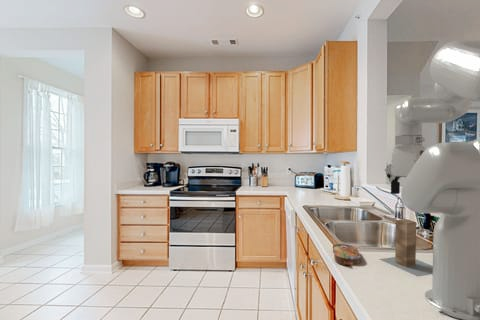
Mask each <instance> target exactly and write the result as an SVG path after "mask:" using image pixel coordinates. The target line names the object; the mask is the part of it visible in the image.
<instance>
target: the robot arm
mask: <svg viewBox="0 0 480 320" xmlns="http://www.w3.org/2000/svg"><path fill="white" fill-rule="evenodd" d="M429 74H430V77H431V80H433V82H435V83H434V88H433V89H434V92H435V95H436V96H435V97H426V96H425V97H409V98H406V99H404V101H403V102H402V103H401V104H398V105H397V106H396V107H395V110H394V147H393V150H392V154H391V164H390V165H389V166H387V167H386V168H384V171H385V174H386V177H387V178H388V181H389V183H390V194H392V195H400V194H401V201H402V203H403V204H404V206H405V207H406V209H408V210H410V211H412V212H414V213H419V214H434V215H435V214H436V215H437V214H438V215H439V214H441V215H440V216H439V218H438V220H436V223H435V225H434V228H433V237H432V240H433V241H432V266H433V274H432V285H431V288H432V289H428V290H426V291H425V292H424V298H425V300H426V302H428V303H429V304H430V305H432V306H433V307H435V308H436V309H439V312H440V313H443V314H445V315H447V316H450V317H453V318H456V319H459V320H480V136H478V137H477V138H476V139H474V140H471V141H462V142H460V141H457V142H455V141H453V142H452V141H451V142H450V141H448V142H439V143H435V144H432V145H430V146H429V147H427V148H426V145H423V143H424V142H425V141H426V138H425V137H424V136H423V124H447V123H450V122H452V121H455V120H456V119H458V118H460V117H462V116H464V115H465V114H467V113H468V111H469V110H470V108H471V106H472V104H473V102H475V103H480V39H462V40H453V41H449V42H448V43H445V44H444V45H442V46H441V47H440V48H439V49H438V50H437V51H436V52H435V54H434V55H433V57H432V59H431V62H430V65H429ZM401 178H405V179H404V182H403V183H402V187H400V185H401V184H400V179H401ZM400 188H401V189H400Z"/></svg>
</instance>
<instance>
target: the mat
mask: <svg viewBox="0 0 480 320" xmlns="http://www.w3.org/2000/svg"><path fill="white" fill-rule="evenodd" d="M379 260H380V261H381V262H384V263H387V264H388V265H391V266H393V267H396V268H398V269H400V270H402V271H405V272H407V273H409V274H412V275H414V276H416V277H422V276H429V275H433V264H430V263H427V262H424V261H422V260H418V259H416V265H415V266H411V267H404V266H402V265H399V264H397V263H395V256H392V257H385V258H384V257H383V258H380V259H379Z"/></svg>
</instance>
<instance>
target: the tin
mask: <svg viewBox="0 0 480 320" xmlns="http://www.w3.org/2000/svg"><path fill="white" fill-rule="evenodd" d="M332 253H333V258H334V261H335V262H336V263H337V264H339V265H342V266H353V265H354V266H355V265H359V264H361V261H362V260H361V259H362V255H361V253H360V252H359V250H358V248H357V247H355V246H352V245H350V244H341V243H340V244H339V243H338V244H334V245H333V246H332Z"/></svg>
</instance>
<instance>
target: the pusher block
mask: <svg viewBox="0 0 480 320" xmlns="http://www.w3.org/2000/svg"><path fill="white" fill-rule="evenodd" d="M394 248H395V250H394V252H395V253H394V254H395V255H394V257H395V263H397V264H399V265H402V266H404V267H411V266H415V265H416V255H417V254H416V253H417V251H416V250H417V221H412V220H408V219H396V220H395V247H394Z"/></svg>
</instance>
